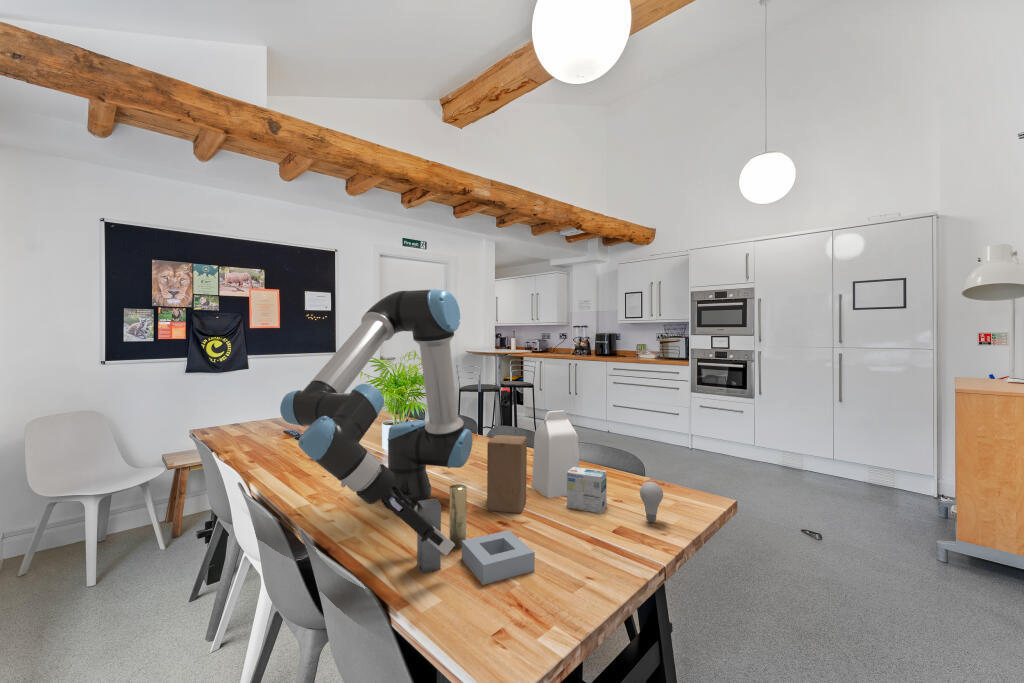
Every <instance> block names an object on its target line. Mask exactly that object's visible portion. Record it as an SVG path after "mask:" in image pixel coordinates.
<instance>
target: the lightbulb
mask: <svg viewBox="0 0 1024 683" xmlns="http://www.w3.org/2000/svg"><path fill="white" fill-rule="evenodd" d="M639 496H640V499H641V501H642V503H643V505H644V512H645V518H646V521H648V522H649V524H651V523H655V522H656V521H657V514H658V508H659V506H660V504H661V502H662V501H663V498H664V491H663V487H661V486H660V484H658V483H657V482H654V481H647V482H646V481H645V482H644V483H643V484H642V485H641V486H640V488H639Z"/></svg>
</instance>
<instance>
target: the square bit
mask: <svg viewBox="0 0 1024 683" xmlns="http://www.w3.org/2000/svg"><path fill="white" fill-rule="evenodd" d="M417 506H418V509H417V513H418V514H419V515H420V516H421V517H422V518H423V519H424V520H426V521H427V522H428V523H429V524H430V525H432V526H434V527H435V528H436V529H437V530H439V531H440V532H441V533H442V525H441V524H442V504H441V502H440V501H439V500H438V499H436V498H430V499H429V498H427V499H426V500H421V501H418V503H417ZM416 537H417V538H416V541H417V543H416V546H417V547H416V563H417V564H416V565H417V567H418V569H419V571H420V572H421V574H427V573H430V572H434V571H438V570H442V569H441V566H442V565H441V560H442V558H441V556H442V555H441V553H442V552H441V551H439V550H438V549H437V548H436V547H435V546H433V545H432V544H431V543H430V542H428V541H427V540H426V541H424V542H422V541H421V539H422V537H421V536H420V535H419V534H418V533H417V535H416Z"/></svg>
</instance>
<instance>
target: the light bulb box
mask: <svg viewBox="0 0 1024 683" xmlns="http://www.w3.org/2000/svg"><path fill="white" fill-rule="evenodd" d="M607 481H608V480H607V470H601V469H595V468H594V469H593V468H583V467H579V468H578V467H572V468H571V469H570V470H569V471H568V472H567V495H566V508H567V509H575V510H579V511H585V512H591V513H597V514H602V513H603V512H604V511H605V509H606V507H607V501H608V500H607Z"/></svg>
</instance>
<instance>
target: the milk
mask: <svg viewBox="0 0 1024 683" xmlns="http://www.w3.org/2000/svg"><path fill="white" fill-rule="evenodd" d="M533 439H534V440H533V458H532V459H533V460H532V476H531V477H532V480H531V487H532V488H533V489H534V490H535V491H539V493H540V494H542V495H543V496H544V497H546V498H547V499H551V498H558V497H564V496H566V497H567V472H568V471H569V470H570V469H571V468H572V467H578V468H580V455H579V454H580V453H579V450H580V449H579V436H578V433H577V431H576V430H575V428H574V427H573V425H572V423H571V422H570V420H569V419H568V416H567V413H566V411H565V410H550V411H547V412H546V414H545V416H544V420H543V421H541V423H540V424H539V426H538V427H537V428H536V429H535V432H534V438H533Z"/></svg>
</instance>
